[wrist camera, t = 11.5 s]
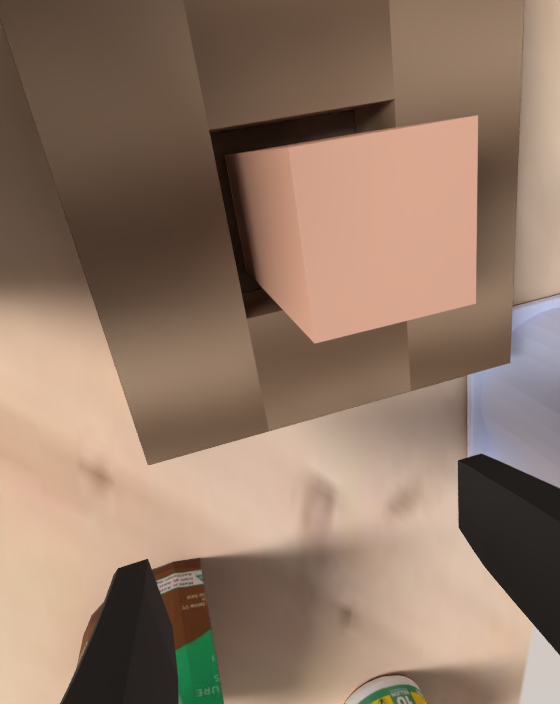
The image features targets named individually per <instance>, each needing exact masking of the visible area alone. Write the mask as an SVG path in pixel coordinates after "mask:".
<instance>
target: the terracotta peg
mask: <svg viewBox="0 0 560 704" xmlns="http://www.w3.org/2000/svg"><path fill="white" fill-rule="evenodd" d="M225 159H226V165H227V170H228V176H229V181H230V186H231V192H232V197H233V203H234V208H235V213H236V219H237V224H238V230H239V235H240V240H241V246H242V251H243V257H244V262H245V267H246V271H247V272H248V273H249V274H250V275H251V276H252V277H253V279H254V280H255V281H256V282H257V283H258V284H259V285H260V286H261V287H262V288H263V289H264V290H265V291H266V292H267V293H268V294H269V296H270V297H271V298H272V299H273V300H274V301H275V302H276V303H277V304H278V305H279V306H280V307H281V308H282V309H283V310H284V312H285V313H286V314H287V315H288V316H289V317H290V318H291V319H292V320H293V321H294V322H295V323H296V324H297V325H298V326H299V327H300V329H301V330H302V331H303V332H304V333H305V334H306V335H307V336H308V337H309V338H310V339H311V340H312V341H313V342H314V343H319V342H323V341H327V340H331V339H335V338H339V337H343V336H347V335H351V334H356V333H360V332H364V331H368V330H372V329H376V328H380V327H384V326H388V325H392V324H396V323H400V322H404V321H408V320H412V319H416V318H420V317H424V316H428V315H432V314H436V313H440V312H444V311H448V310H452V309H456V308H460V307H464V306H468V305H472V304H476V253H477V169H478V115H476V116H470V117H463V118H456V119H449V120H443V121H436V122H429V123H422V124H416V125H409V126H402V127H395V128H389V129H382V130H375V131H368V132H362V133H355V134H348V135H341V136H335V137H329V138H323V139H317V140H311V141H305V142H299V143H293V144H288V145H282V146H276V147H270V148H264V149H258V150H252V151H246V152H240V153H234V154H228V155H225Z"/></svg>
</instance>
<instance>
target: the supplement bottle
mask: <svg viewBox="0 0 560 704" xmlns="http://www.w3.org/2000/svg"><path fill="white" fill-rule="evenodd" d="M345 704H428V703H427V702H426V700H425V698H424V696H423V694H422V692H421V690H420V688H419V687H418V686H417V684H416V683H415V682H414V681H412V680H411V679H409V678H407V677H404V676H399V675H394V676H384V677H379V678H377V679H374V680H372V681H370V682H368V683H366V684H364V685H363V686H361V687H360V688H358V689H357V690H356V691H355V692H354V693H353V694H352V695H351V696H350V697H349V698H348V699H347V701H346V702H345Z"/></svg>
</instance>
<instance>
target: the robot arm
mask: <svg viewBox="0 0 560 704" xmlns="http://www.w3.org/2000/svg"><path fill="white" fill-rule="evenodd" d="M458 510H459V529H460V530H461V532H462V533H463V535H464V537H465V538H466V540H467V541H468V543H469V544H470V546H471V547H472V549H473V550H474V552H475V553H476V555H477V556H478V558H479V559H480V561H481V562H482V564H483V565H484V566H485V568H486V569H487V570H488V571H489V573H490V574H491V575H492V576H493V577H494V579H495V580H496V581H497V582H498V583H499V585H500V586H501V587H502V588H503V589H504V590H505V592H506V593H507V594H508V595H509V596H510V598H511V599H512V600H513V601H514V602H515V603H516V605H517V606H518V607H519V608H520V609H521V610H522V612H523V613H524V614H525V615H526V616H527V617H528V619H529V620H530V621H531V622H532V623H533V624H534V626H535V627H536V628H537V629H538V630H539V631H540V632H541V634H542V635H543V636H544V637H545V638H546V640H547V641H548V642H549V643H550V644H551V645H552V647H553V648H554V649H555V650H556V651H557V652H558V654H559V655H560V294H559V295H555V296H551V297H547V298H544V299H540V300H536V301H532V302H528V303H524V304H520V305H517V306H513V307H512V333H511V359H510V363H508V364H505V365H501V366H498V367H494V368H491V369H487V370H484V371H480V372H477V373H473V374H470V375H467V458H465V459H462V460H459V461H458ZM60 704H179V693H178V671H177V662H176V652H175V644H174V635H173V627H172V624H171V621H170V618H169V615H168V613H167V610H166V607H165V604H164V602H163V599H162V596H161V594H160V591H159V588H158V585H157V583H156V580H155V577H154V574H153V572H152V569H151V566H150V564H149V561H148V559H146V560H143V561H140V562H137V563H133V564H130V565H127V566H124V567H121V568H118V569H117V571H116V572H115V574H114V576H113V579H112V582H111V585H110V587H109V590H108V593H107V596H106V598H105V601H104V604H103V606H102V609H101V611H100V614H99V617H98V619H97V621H96V624H95V626H94V629H93V631H92V634H91V636H90V639H89V641H88V643H87V646H86V648H85V650H84V653H83V655H82V657H81V659H80V662H79V664H78V666H77V669H76V671H75V673H74V676H73V678H72V680H71V682H70V684H69V687H68V689H67V691H66V693H65V695H64V697H63V699H62V701H61V703H60Z"/></svg>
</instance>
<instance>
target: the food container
mask: <svg viewBox="0 0 560 704" xmlns="http://www.w3.org/2000/svg"><path fill="white" fill-rule="evenodd" d="M152 572H153V574H154V577H155V580H156V583H157V585H158V588H159V591H160V594H161V596H162V599H163V602H164V604H165V607H166V610H167V613H168V615H169V618H170V621H171V624H172V627H173V635H174V644H175V652H176V662H177V671H178V693H179V704H224V701H223V695H222V689H221V683H220V677H219V671H218V665H217V659H216V653H215V647H214V641H213V635H212V629H211V623H210V617H209V611H208V605H207V599H206V593H205V587H204V581H203V575H202V569H201V563H200V558H197V559H190V560H183V561H176V562H172V563H169V564H166V565H164V566H161V567H158V568H155V569H153V570H152ZM103 604H104V602H103V603H102V604H101V606H100V607H99V608H98V609H97V610H96V611H95V612H94V614H93V615H92V616H91V619H90V621H89V623H88V626H87V628H86V631H85V633H84V636H83V641H82V645H81V650H80V655H79V659H78V664H79V662H80V659H81V657H82V655H83V653H84V650H85V648H86V646H87V643H88V641H89V639H90V636H91V634H92V631H93V629H94V626H95V624H96V621H97V619H98V617H99V614H100V611H101V609H102V606H103ZM78 664H77V666H78ZM76 669H77V668H76Z"/></svg>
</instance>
